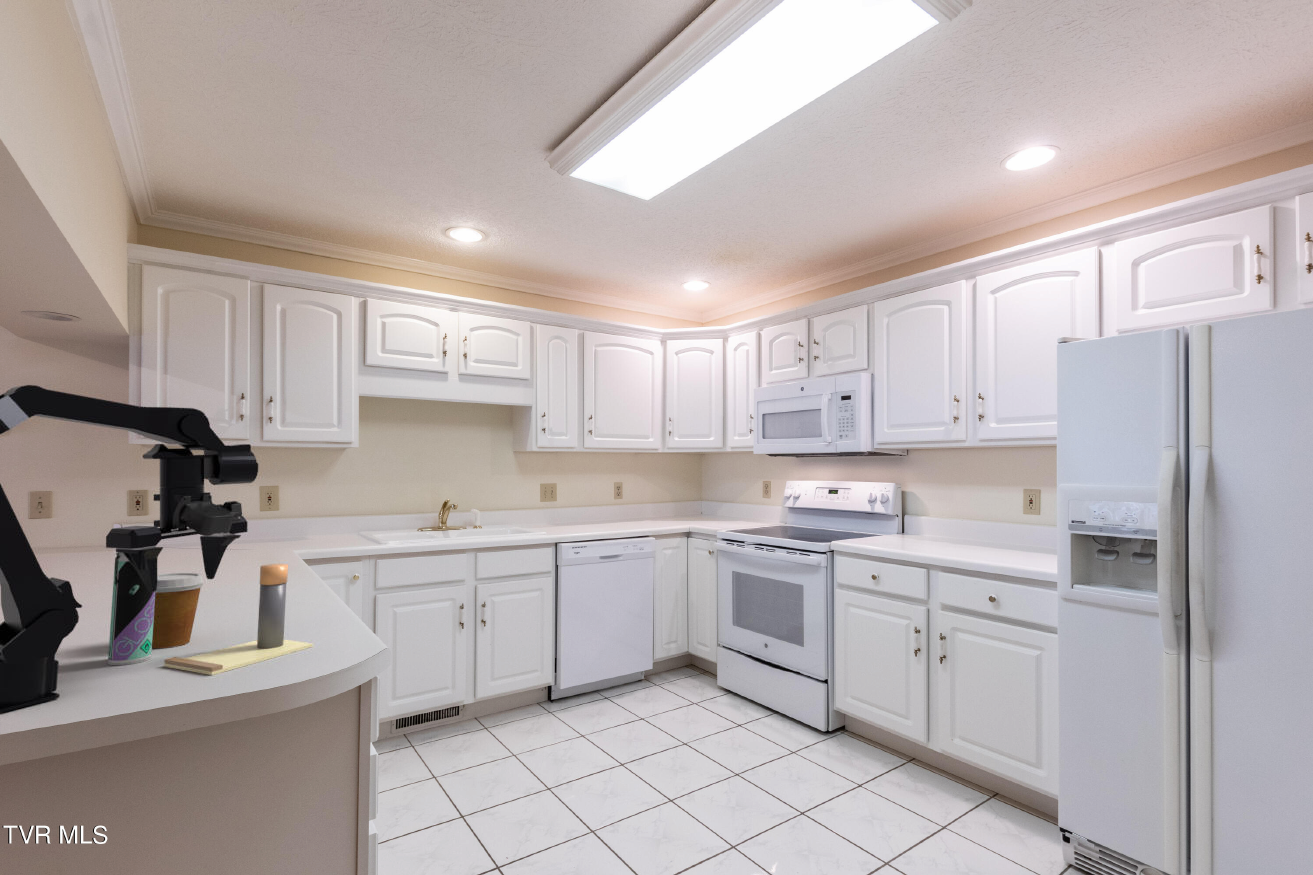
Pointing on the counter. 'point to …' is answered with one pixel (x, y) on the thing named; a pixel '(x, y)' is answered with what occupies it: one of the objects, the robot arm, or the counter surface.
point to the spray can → (130, 616)
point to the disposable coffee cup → (175, 608)
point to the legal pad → (232, 657)
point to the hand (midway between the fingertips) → (182, 584)
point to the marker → (272, 605)
